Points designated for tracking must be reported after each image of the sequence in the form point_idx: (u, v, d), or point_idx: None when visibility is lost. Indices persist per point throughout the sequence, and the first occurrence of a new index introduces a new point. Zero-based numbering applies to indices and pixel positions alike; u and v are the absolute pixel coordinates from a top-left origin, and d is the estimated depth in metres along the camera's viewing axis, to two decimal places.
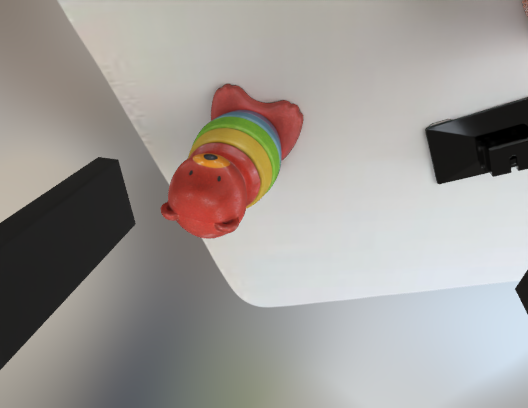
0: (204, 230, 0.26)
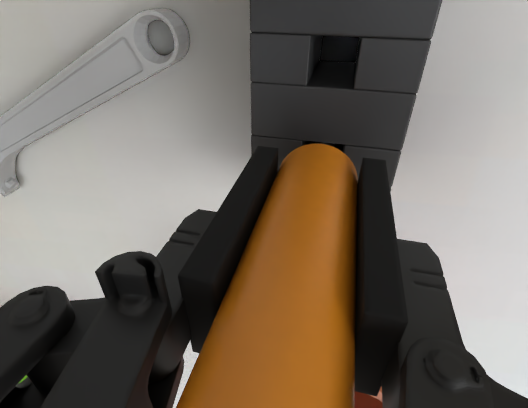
0: None
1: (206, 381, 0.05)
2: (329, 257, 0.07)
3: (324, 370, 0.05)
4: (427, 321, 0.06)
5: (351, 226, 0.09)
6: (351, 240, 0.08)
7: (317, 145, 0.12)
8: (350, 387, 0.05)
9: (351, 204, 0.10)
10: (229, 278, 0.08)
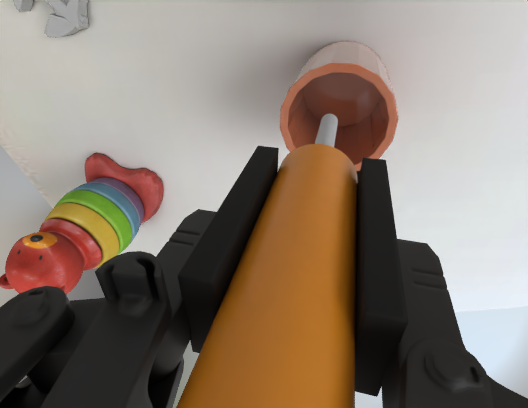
0: None
1: (206, 382, 0.05)
2: (329, 257, 0.07)
3: (324, 371, 0.05)
4: (427, 321, 0.06)
5: (351, 226, 0.09)
6: (351, 240, 0.08)
7: (317, 145, 0.12)
8: (350, 388, 0.05)
9: (351, 204, 0.10)
10: (229, 278, 0.08)
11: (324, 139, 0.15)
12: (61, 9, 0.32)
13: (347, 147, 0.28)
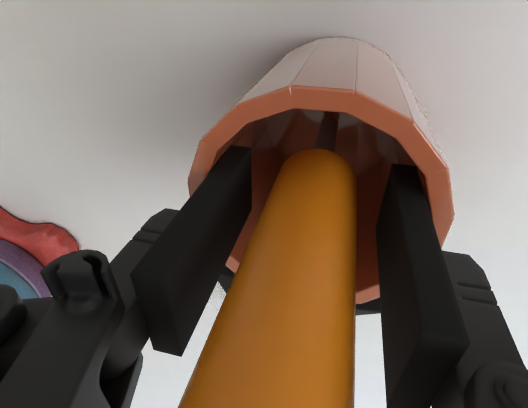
0: None
1: (201, 399, 0.05)
2: (328, 267, 0.07)
3: (322, 387, 0.05)
4: (483, 341, 0.06)
5: (351, 234, 0.09)
6: (351, 248, 0.08)
7: (316, 150, 0.11)
8: (349, 404, 0.05)
9: (351, 211, 0.09)
10: (187, 277, 0.08)
11: (323, 143, 0.14)
12: None
13: None
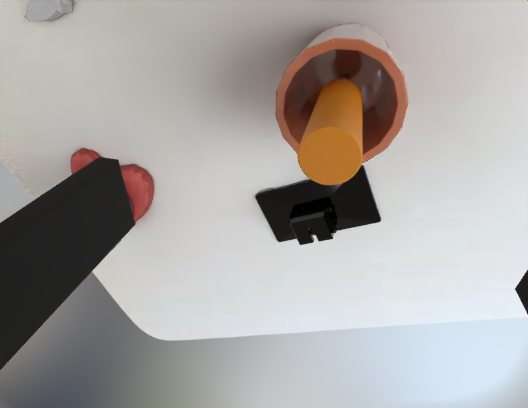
0: None
1: (314, 125, 0.15)
2: (351, 106, 0.17)
3: (352, 124, 0.15)
4: None
5: (360, 106, 0.19)
6: (360, 109, 0.19)
7: (341, 79, 0.22)
8: (361, 135, 0.16)
9: (359, 100, 0.20)
10: None
11: None
12: None
13: None
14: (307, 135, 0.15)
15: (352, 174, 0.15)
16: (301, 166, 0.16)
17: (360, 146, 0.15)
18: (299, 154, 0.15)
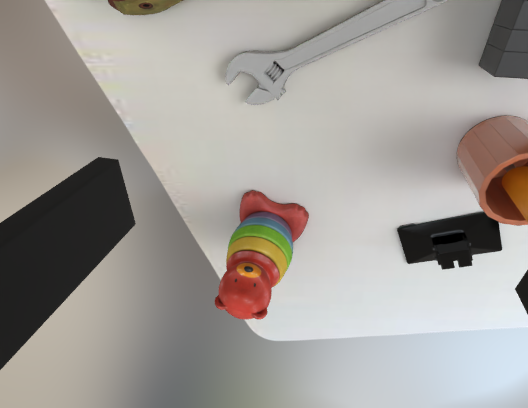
0: (243, 316, 0.39)
1: None
2: None
3: None
4: None
5: None
6: None
7: (525, 167, 0.32)
8: None
9: None
10: None
11: None
12: (268, 84, 0.39)
13: None
14: None
15: None
16: None
17: None
18: None
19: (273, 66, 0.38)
